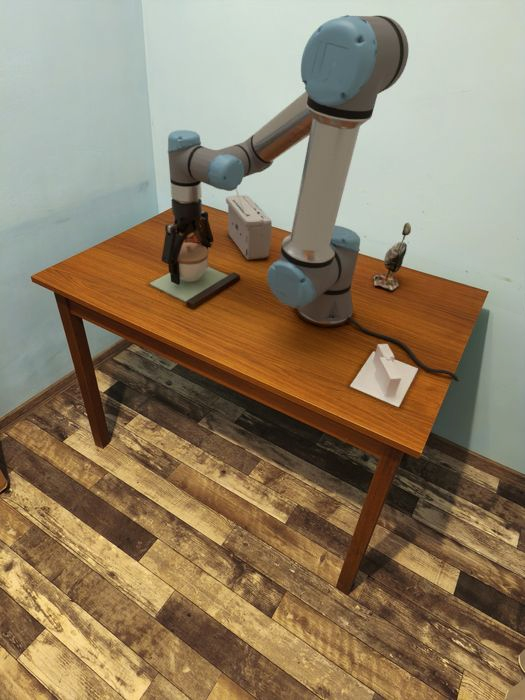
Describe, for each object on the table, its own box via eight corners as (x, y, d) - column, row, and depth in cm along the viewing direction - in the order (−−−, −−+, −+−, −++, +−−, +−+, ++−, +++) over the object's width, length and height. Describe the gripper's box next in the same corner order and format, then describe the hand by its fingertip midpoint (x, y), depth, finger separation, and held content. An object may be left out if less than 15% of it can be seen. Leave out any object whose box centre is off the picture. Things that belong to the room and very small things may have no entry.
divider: (239, 279, 133) (240, 274, 132) (193, 309, 120) (192, 304, 119) (233, 276, 134) (233, 271, 133) (186, 305, 121) (186, 300, 120)
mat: (229, 277, 133) (229, 275, 133) (186, 303, 122) (186, 301, 121) (193, 261, 139) (193, 259, 139) (149, 284, 128) (149, 283, 127)
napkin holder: (399, 407, 97) (406, 388, 93) (349, 386, 101) (354, 367, 97) (418, 368, 107) (425, 349, 103) (372, 350, 111) (377, 331, 107)
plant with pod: (406, 279, 139) (425, 216, 126) (391, 294, 131) (409, 229, 119) (382, 270, 142) (398, 208, 130) (365, 284, 135) (381, 220, 122)
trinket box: (216, 274, 131) (216, 244, 125) (192, 290, 124) (191, 259, 118) (187, 262, 135) (185, 233, 129) (162, 277, 128) (159, 247, 122)
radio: (270, 259, 143) (275, 196, 130) (245, 263, 140) (248, 199, 128) (247, 231, 158) (249, 172, 145) (224, 233, 155) (225, 174, 142)
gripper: (205, 182, 124) (206, 255, 138) (141, 207, 109) (149, 286, 123) (227, 190, 121) (226, 264, 135) (164, 216, 106) (170, 296, 120)
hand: (189, 274), depth 129 cm, fingers closed on trinket box, 11 cm apart
